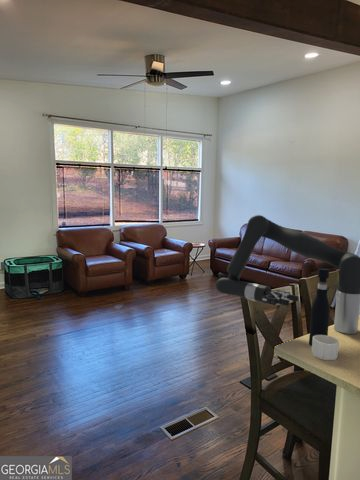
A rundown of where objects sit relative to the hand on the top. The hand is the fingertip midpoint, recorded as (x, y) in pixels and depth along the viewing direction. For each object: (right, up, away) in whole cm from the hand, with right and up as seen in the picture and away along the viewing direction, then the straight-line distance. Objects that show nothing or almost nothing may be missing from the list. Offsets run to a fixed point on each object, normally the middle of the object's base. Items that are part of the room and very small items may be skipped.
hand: (293, 301), depth 139 cm
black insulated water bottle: (+8, -16, -5) cm, 19 cm away
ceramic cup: (+7, -17, -14) cm, 23 cm away
